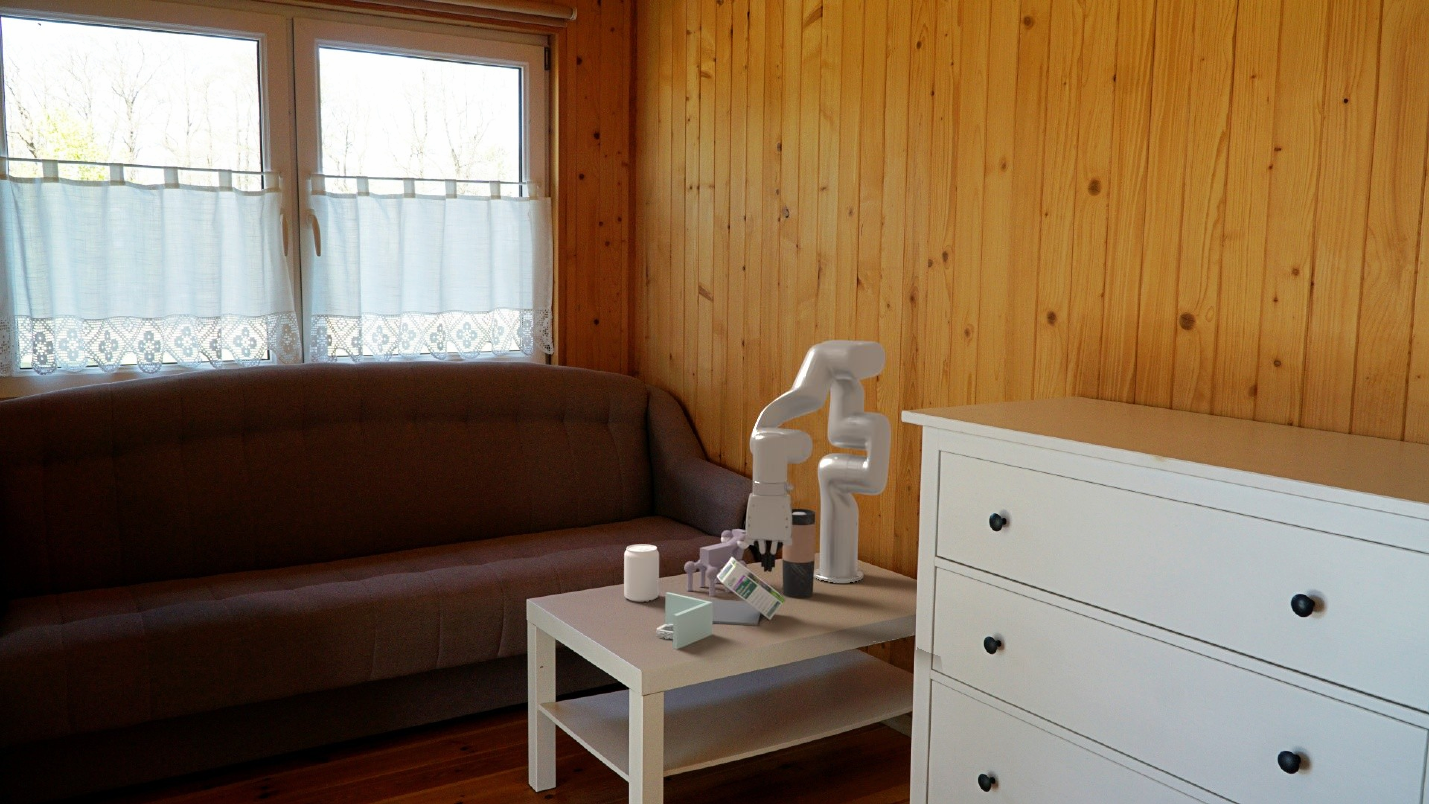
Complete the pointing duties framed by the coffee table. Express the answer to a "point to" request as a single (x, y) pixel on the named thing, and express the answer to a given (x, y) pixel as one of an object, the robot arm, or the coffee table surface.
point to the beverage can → (641, 572)
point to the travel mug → (800, 556)
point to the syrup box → (750, 588)
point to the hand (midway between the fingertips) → (768, 570)
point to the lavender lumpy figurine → (717, 559)
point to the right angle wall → (686, 620)
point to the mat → (734, 612)
